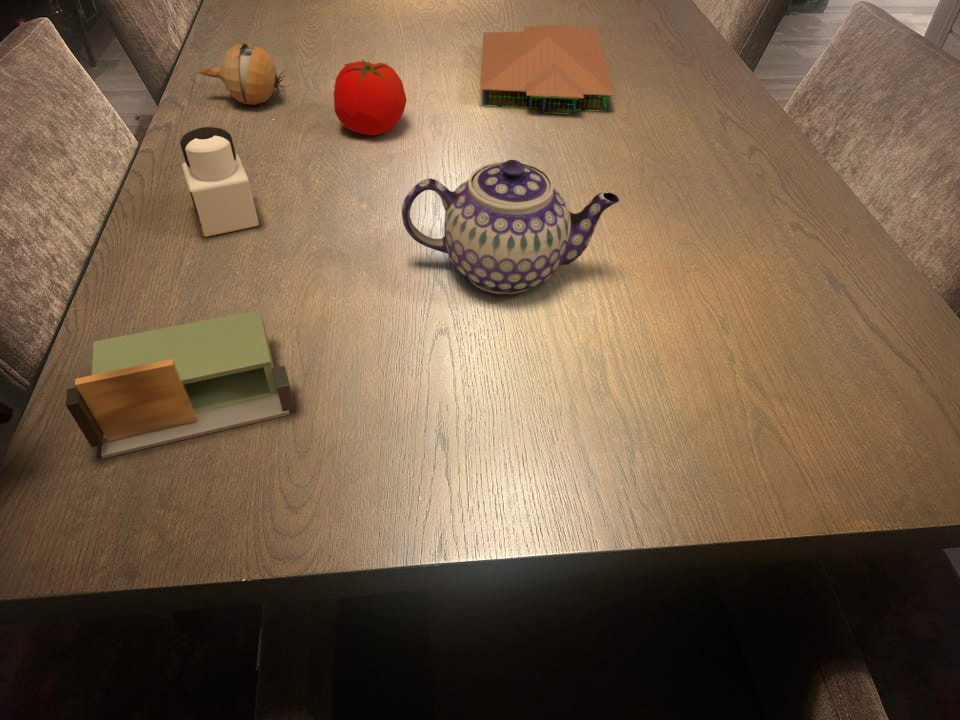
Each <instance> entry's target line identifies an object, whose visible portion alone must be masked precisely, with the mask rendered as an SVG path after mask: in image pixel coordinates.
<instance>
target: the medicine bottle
mask: <svg viewBox="0 0 960 720" xmlns="http://www.w3.org/2000/svg"><path fill="white" fill-rule="evenodd" d="M179 144H180V148H181V151H182V155H183V158H184V161H185V162H182V164H181V168H182V171H183V175H184V177H185V181H186V184H187V187H188V191H189V194H190V198H191V200H192V203H193V207H194V210H195V213H196V217H197V220H198V223H199V227H200V230H201V233H202V236H203V237H205V238H208V237H212V236H217V235H222V234H227V233H231V232H236V231H241V230H242V231H243V230H246V229H250V228H255V227H258V226H259V225H260V224H259V218H258V213H257V210H256V209H257V208H256V205H255V202H254V196H253V193H252V188H251V184H250V180H249V177H248V174H247V173H246V170H245V168H244V165H243V162H242V161H241V159H240V156H239V154H237V153H236V149H235V145H234V141H233V137H232V135H231V133H229V132H228V131H227V130H225V129H223V128H220V127H216V126H204V127H198V128H195V129H192V130H190V131H188V132H186V133H185V134H184V135H182V138H181V139H180V141H179Z"/></svg>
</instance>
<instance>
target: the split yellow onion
mask: <svg viewBox="0 0 960 720" xmlns="http://www.w3.org/2000/svg"><path fill="white" fill-rule="evenodd" d="M197 70H198V74H199V75H203V76H206V77H210V78H218V79H220V80H221V81H222V83H223V84H224V86H225V87H226V89H227V91H228V92H229V93H230V96H232V97H233V98H234V99H235V100H237V101H238V102H239V103H241V104H245V105H251V106H252V105H255V106H256V105H259V104H262V103H265V102H267V101H268V100H269V99H270V98H271V97H272V95H273V93H274V92H275V90H276V94H277V96H278V97H280V98H279V99H280V101H282V100H283V101H284V99H283V97H282V95H281V91H282V92H286V91H287V90H285V89H284V88H286V87H290V84H288V85H281V84H280V83H281V82H282V81H283V80H284V78H288V76H287V75H286V74H287V72H286V71H287V70H288V68H285V69H284V70H283V71H281V73H280V74H279V75H278V72H277V68H276V63H275V60H274V59H273V56H272V55H271V54H270V53H269V52H268V51H267V50H266V49H264V48H262V47H260V46H258V45H257V46H255V47H254V48H251V47H249V45H248V44H247V43H246V42H245V41H243V42H241V44H237V45H233V46H232V47H231V48H230V49H228V50H227V51H226V52H225V54H224V56H223V58H222V60H221V62H220V65H219V67H207V68H199V69H197ZM284 72H285V74H284V75H282V74H283V73H284ZM281 75H282V76H281ZM280 88H282V89H283V90H282V89H280Z"/></svg>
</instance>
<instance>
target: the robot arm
mask: <svg viewBox="0 0 960 720" xmlns="http://www.w3.org/2000/svg"><path fill="white" fill-rule="evenodd" d="M13 416H14V408H13V407H11V406H9V404H6V403H5V402H4V401H1V400H0V425H4V424H8V423H9V422H10V421H11V420H12V418H13Z"/></svg>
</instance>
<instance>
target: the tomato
mask: <svg viewBox="0 0 960 720" xmlns="http://www.w3.org/2000/svg"><path fill="white" fill-rule="evenodd" d="M361 59H362V60H361V61H359V60H358V61H354V62H349V63H344V66H343V68H342V69H340V70H339V72H338V73H337V76H336V78H335V82H334V90H333V104H334V105H333V106H334V107H333V108H334V113H335V115H336V117H337V119H338V120H339V122H340V123H341V124H342V126H344V127H345V128H346V129H347V130H350V131H352V132H354V133H356V134H360V135H366V136H372V137H374V136H378V135H382V134H385V133H387V132H389V131H391V130H392V129H393V128H394V127H396V126H397V124H398V123H399V122H400V121H401V119H402V117H403V114H404V113H405V110H406V104H407V102H408V101H407V95H406V91H405V88H404V84H403V81H402V79H401V78H400V76H399V75H398V73H397V72H396V70H395V69H394V68H393V67H391V66H390V65H389V64H388V62H385V63H383V62H377V63H374V64H373V63H372V62H369V61H365V60H364V59H363V58H361Z"/></svg>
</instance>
